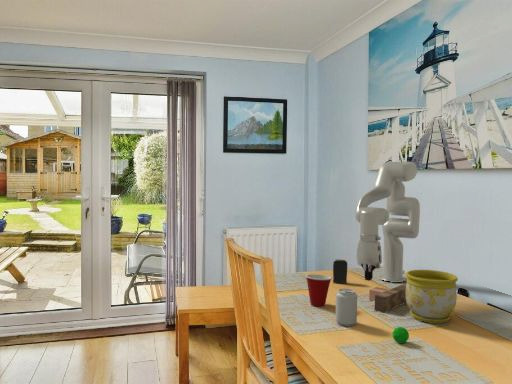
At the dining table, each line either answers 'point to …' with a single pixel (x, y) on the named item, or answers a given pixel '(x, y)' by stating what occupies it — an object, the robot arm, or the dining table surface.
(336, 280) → the battery charger
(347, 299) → the can
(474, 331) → the dining table surface
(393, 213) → the robot arm
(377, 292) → the terracotta block
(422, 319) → the flowerpot
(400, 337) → the green ball
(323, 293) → the plastic cup
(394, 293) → the brown blocky bar
